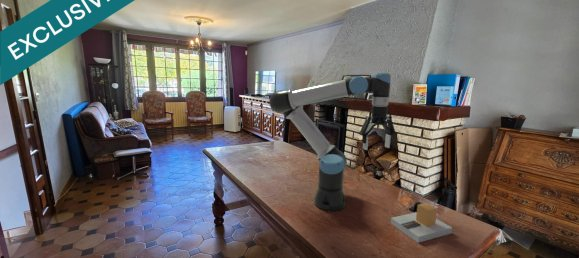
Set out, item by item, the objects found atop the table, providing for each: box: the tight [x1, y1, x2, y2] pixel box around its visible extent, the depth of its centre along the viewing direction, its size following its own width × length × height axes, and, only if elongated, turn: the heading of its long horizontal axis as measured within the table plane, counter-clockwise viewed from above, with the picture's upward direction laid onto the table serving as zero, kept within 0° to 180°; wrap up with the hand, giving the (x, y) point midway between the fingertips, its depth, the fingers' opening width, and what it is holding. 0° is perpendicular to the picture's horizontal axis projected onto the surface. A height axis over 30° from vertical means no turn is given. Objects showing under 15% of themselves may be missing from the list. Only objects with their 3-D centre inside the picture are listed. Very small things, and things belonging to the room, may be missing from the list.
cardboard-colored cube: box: [416, 202, 438, 227], centre depth 102 cm, size 5×5×7 cm
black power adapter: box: [408, 201, 424, 213], centre depth 116 cm, size 12×7×5 cm, turn 33°
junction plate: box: [390, 212, 453, 244], centre depth 102 cm, size 18×14×8 cm
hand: (376, 148), depth 124 cm, fingers open, 13 cm apart
